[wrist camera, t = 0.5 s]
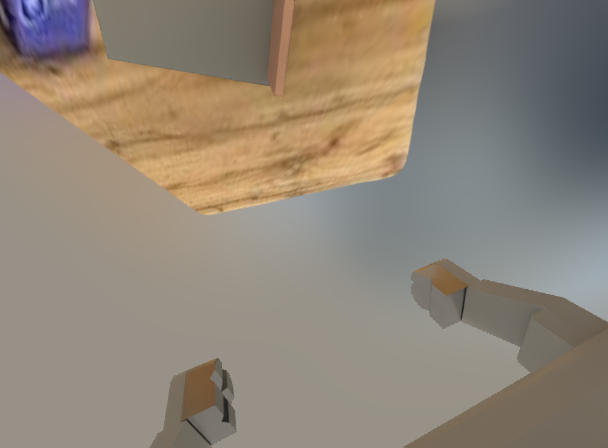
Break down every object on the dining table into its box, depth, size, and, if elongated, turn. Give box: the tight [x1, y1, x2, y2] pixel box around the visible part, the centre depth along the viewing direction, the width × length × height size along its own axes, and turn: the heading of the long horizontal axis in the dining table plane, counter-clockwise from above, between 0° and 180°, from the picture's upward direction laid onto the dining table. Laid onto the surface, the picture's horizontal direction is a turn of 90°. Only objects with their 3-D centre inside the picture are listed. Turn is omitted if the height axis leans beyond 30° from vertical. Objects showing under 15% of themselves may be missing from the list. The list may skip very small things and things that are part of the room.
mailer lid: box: [93, 0, 295, 97], centre depth 28 cm, size 22×14×11 cm, turn 79°
